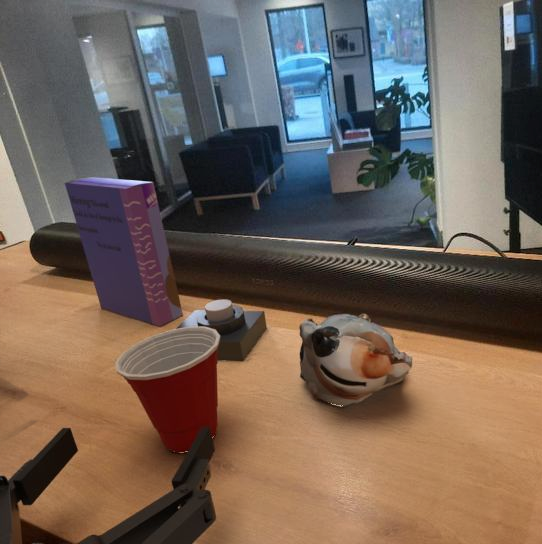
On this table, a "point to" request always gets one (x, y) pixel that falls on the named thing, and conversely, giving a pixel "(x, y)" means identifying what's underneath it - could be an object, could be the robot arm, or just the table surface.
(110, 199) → the cereal box
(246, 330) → the push button base
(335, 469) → the table surface
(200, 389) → the plastic cup
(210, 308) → the white push button
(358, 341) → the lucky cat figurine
